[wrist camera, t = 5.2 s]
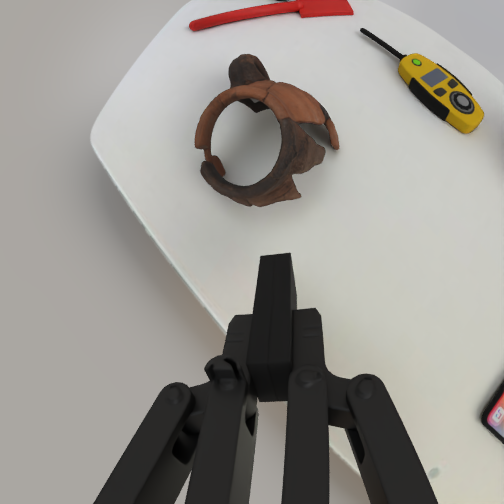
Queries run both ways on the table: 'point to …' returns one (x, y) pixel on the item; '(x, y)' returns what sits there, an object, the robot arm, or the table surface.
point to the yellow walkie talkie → (437, 89)
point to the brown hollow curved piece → (289, 116)
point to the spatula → (277, 11)
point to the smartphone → (495, 415)
